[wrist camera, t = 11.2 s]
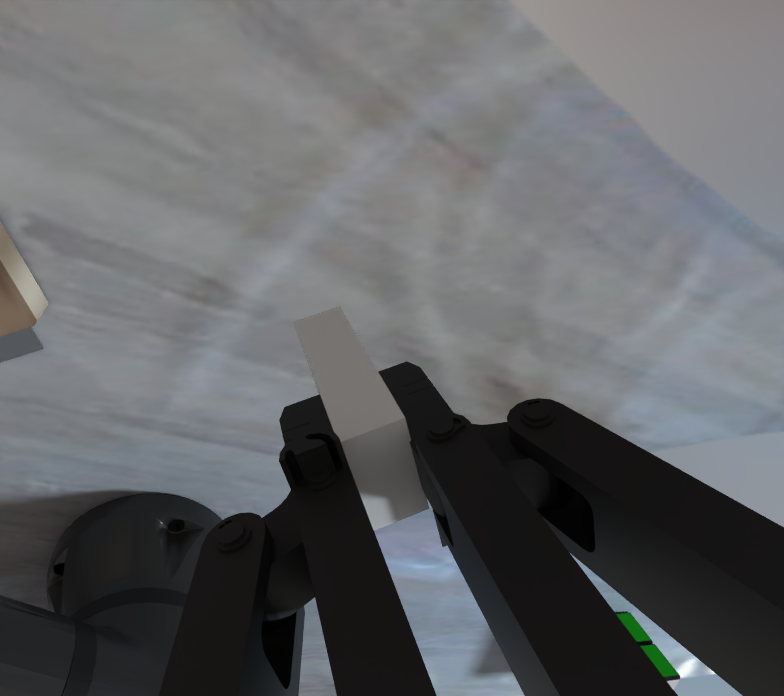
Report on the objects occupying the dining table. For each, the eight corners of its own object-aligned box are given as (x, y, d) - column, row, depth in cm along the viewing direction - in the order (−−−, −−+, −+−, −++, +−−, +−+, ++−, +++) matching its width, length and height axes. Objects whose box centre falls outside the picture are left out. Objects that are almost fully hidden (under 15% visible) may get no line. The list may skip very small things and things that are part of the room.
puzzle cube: (545, 667, 79) (587, 741, 70) (572, 614, 75) (620, 685, 66) (602, 661, 82) (649, 730, 74) (630, 610, 79) (683, 677, 70)
